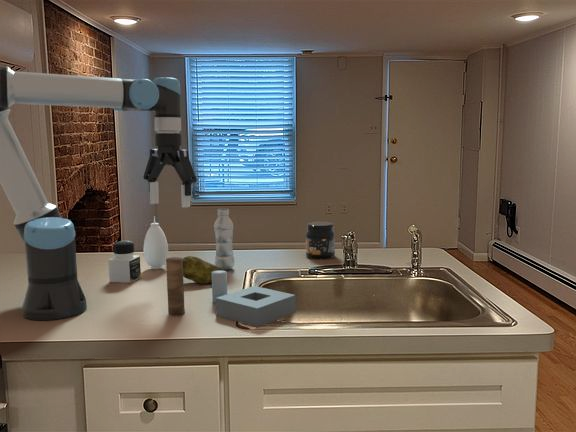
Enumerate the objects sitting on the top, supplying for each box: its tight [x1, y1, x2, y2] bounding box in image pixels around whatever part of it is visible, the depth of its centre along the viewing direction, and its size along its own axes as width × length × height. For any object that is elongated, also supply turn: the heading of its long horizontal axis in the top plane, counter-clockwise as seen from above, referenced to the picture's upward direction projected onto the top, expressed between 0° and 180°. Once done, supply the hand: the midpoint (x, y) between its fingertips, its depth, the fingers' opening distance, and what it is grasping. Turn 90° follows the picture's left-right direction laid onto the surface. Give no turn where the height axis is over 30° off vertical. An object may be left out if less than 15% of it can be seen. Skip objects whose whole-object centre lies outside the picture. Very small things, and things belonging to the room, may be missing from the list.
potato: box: [182, 255, 223, 285], centre depth 175 cm, size 8×13×8 cm, turn 74°
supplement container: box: [305, 221, 336, 260], centre depth 209 cm, size 10×10×12 cm
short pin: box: [211, 270, 228, 304], centre depth 156 cm, size 4×4×8 cm
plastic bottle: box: [213, 208, 235, 271], centre depth 190 cm, size 6×7×20 cm
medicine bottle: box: [107, 240, 142, 284], centre depth 179 cm, size 7×7×12 cm
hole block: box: [215, 285, 297, 328], centre depth 145 cm, size 14×14×4 cm
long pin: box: [165, 256, 185, 317], centre depth 145 cm, size 4×4×14 cm
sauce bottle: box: [142, 215, 169, 271], centre depth 193 cm, size 8×8×18 cm
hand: (169, 205), depth 172 cm, fingers open, 13 cm apart
